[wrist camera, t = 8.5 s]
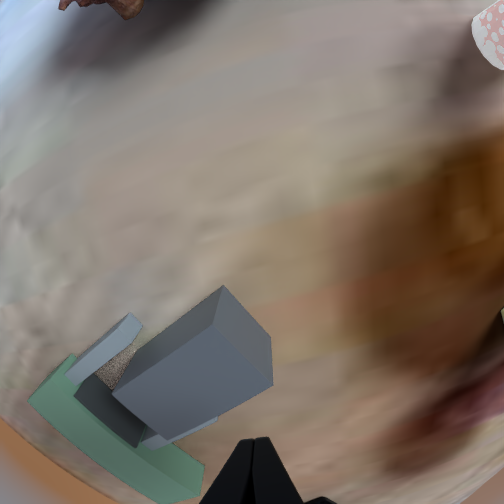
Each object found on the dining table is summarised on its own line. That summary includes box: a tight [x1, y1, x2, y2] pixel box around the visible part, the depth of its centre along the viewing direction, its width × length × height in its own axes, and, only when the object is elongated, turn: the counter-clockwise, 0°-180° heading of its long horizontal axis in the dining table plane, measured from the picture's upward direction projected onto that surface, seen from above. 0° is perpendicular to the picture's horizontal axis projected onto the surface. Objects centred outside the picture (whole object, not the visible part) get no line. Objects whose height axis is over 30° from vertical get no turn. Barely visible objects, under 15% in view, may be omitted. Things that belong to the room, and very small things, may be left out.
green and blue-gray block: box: [27, 312, 218, 504], centre depth 20 cm, size 15×12×4 cm
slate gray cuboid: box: [112, 285, 273, 441], centre depth 18 cm, size 4×8×5 cm, turn 129°
